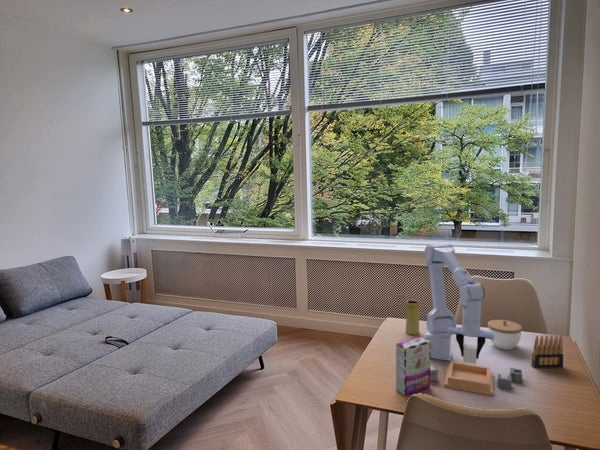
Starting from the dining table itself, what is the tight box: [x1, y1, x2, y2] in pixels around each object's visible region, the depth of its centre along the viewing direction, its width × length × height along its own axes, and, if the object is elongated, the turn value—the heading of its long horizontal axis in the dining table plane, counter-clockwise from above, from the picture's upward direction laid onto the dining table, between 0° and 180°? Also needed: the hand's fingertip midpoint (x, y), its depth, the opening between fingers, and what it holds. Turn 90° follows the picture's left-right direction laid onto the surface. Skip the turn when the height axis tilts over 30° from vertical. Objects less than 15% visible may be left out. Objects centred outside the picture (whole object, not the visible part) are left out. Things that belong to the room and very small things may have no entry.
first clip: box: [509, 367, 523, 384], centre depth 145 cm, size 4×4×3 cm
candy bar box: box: [395, 336, 431, 397], centre depth 138 cm, size 11×5×16 cm, turn 117°
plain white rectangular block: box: [462, 343, 477, 365], centre depth 143 cm, size 4×4×5 cm
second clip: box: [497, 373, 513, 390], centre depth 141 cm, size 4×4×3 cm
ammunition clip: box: [531, 335, 564, 369], centre depth 153 cm, size 11×2×12 cm, turn 91°
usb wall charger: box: [430, 364, 439, 382], centre depth 148 cm, size 4×7×4 cm, turn 15°
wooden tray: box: [443, 360, 494, 396], centre depth 144 cm, size 15×15×3 cm
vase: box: [404, 299, 420, 336], centre depth 187 cm, size 6×6×14 cm
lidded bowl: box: [487, 319, 523, 351], centre depth 172 cm, size 13×13×11 cm
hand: (469, 356), depth 143 cm, fingers closed on plain white rectangular block, 4 cm apart
